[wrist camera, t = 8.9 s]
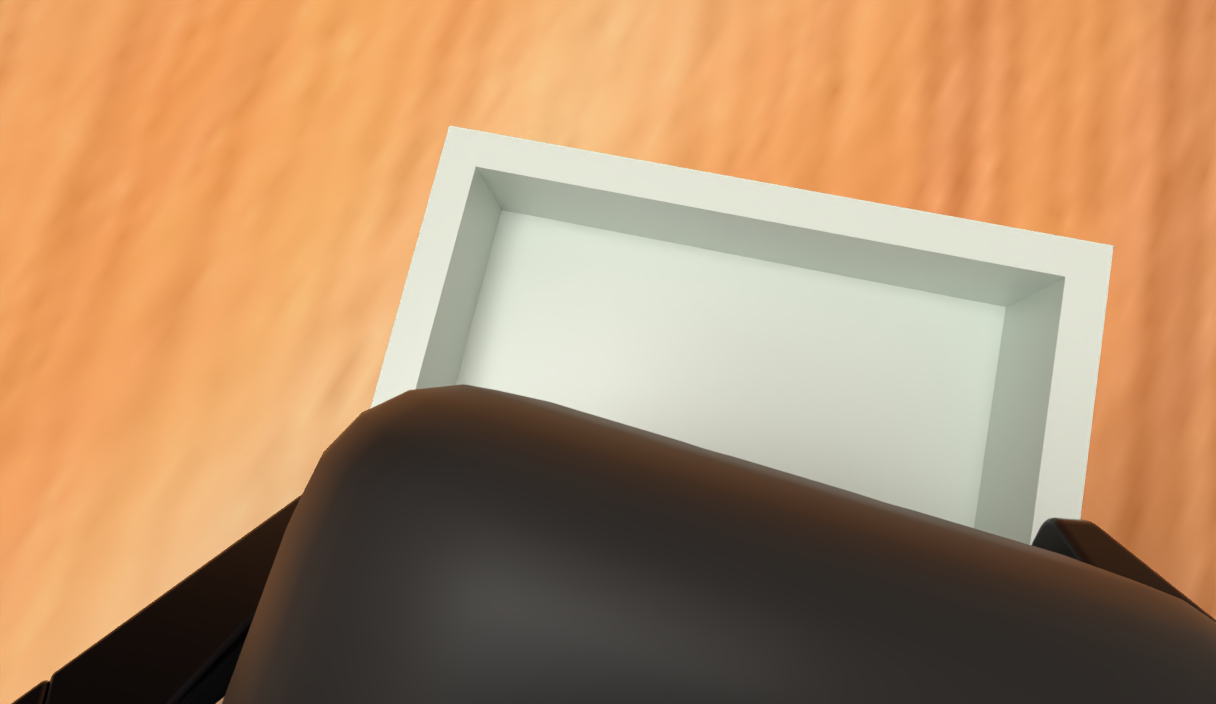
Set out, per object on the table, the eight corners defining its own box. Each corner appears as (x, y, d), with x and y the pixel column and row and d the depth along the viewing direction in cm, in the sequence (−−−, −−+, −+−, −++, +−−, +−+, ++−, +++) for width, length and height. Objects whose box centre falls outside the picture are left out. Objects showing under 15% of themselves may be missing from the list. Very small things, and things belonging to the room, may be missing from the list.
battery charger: (880, 530, 14) (1662, 676, 3) (833, 729, 14) (1601, 1781, 3) (545, 430, 15) (227, 260, 4) (488, 612, 15) (-79, 1017, 3)
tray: (925, 1003, 15) (1003, 1156, 12) (319, 821, 17) (230, 910, 13) (1025, 291, 18) (1113, 245, 14) (488, 189, 19) (449, 125, 16)
